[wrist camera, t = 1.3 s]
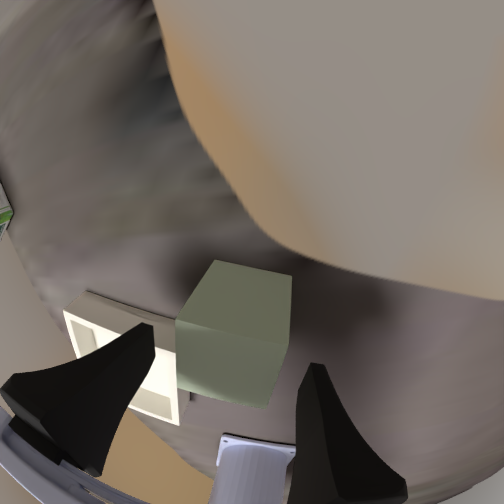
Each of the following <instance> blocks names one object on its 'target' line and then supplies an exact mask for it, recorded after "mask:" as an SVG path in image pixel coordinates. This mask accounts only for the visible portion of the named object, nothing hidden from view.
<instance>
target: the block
mask: <svg viewBox="0 0 504 504" xmlns="http://www.w3.org/2000/svg"><path fill="white" fill-rule="evenodd" d="M291 290H292V276H290V275H285V274H280V273H276V272H271V271H266V270H261V269H257V268H252V267H247V266H242V265H238V264H233V263H228V262H224V261H219V260H214V261H213V263H212V264H211V266H210V267H209V269H208V270H207V272H206V273H205V275H204V276H203V278H202V279H201V281H200V282H199V284H198V285H197V287H196V288H195V290H194V291H193V293H192V294H191V296H190V297H189V299H188V300H187V302H186V303H185V305H184V306H183V308H182V309H181V311H180V312H179V314H178V316H177V317H176V319H175V352H176V382H177V388H180V389H183V390H186V391H190V392H193V393H197V394H200V395H204V396H208V397H211V398H215V399H219V400H223V401H227V402H232V403H236V404H241V405H245V406H250V407H255V408H261V409H266V408H267V405H268V402H269V400H270V397H271V394H272V392H273V389H274V386H275V384H276V381H277V378H278V375H279V372H280V369H281V367H282V364H283V361H284V358H285V355H286V352H287V349H288V346H289V332H290V313H291Z"/></svg>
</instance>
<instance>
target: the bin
mask: <svg viewBox="0 0 504 504" xmlns="http://www.w3.org/2000/svg"><path fill="white" fill-rule="evenodd" d="M63 312H64V316H65V320H66V324H67V327H68V331H69V334H70V338H71V341H72V344H73V347H74V350H75V352H76V356H77V359H78V358H81V357H83V356H85V355H87V354H89V353H91V352H93V351H95V350H97V349H99V348H100V347H102V346H104V345H106V344H108V343H109V342H111V341H112V340H114V339H116V338H117V337H119V336H121V335H122V334H124V333H125V332H127V331H128V330H130V329H132V328H133V327H135V326H136V325H138V324H140V323H141V322H143V323H146V324H149V325H153V328H154V342H155V353H156V357H155V359H154V362H153V364H152V366H151V368H150V371H149V373H148V375H147V376H146V378H145V379H144V381H143V383H142V384H141V386H140V388H139V389H138V391H137V392H136V394H135V396H134V397H133V399H132V400H131V402H130V404H129V405H128V407H130V408H132V409H135V410H137V411H140V412H142V413H145V414H147V415H150V416H152V417H155V418H158V419H161V420H164V421H166V422H169V423H172V424H175V425H179V426H180V423H181V421H182V418H183V416H184V414H185V411H186V409H187V406H188V404H189V401H190V391H186V390H183V389H180V388H177V382H176V352H175V320H173V319H170V318H166V317H163V316H159V315H156V314H153V313H150V312H146V311H143V310H140V309H137V308H134V307H131V306H128V305H125V304H122V303H119V302H116V301H113V300H110V299H107V298H105V297H102V296H99V295H96V294H94V293H91V292H88V291H85V292H83V293H82V294H81V295H80V296H79V297H77V298H76V299H75V300H74V301H73V302H71V303H70V304H69V305H68V306H67V307H66V308H64V309H63Z"/></svg>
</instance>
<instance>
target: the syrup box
mask: <svg viewBox="0 0 504 504" xmlns="http://www.w3.org/2000/svg"><path fill="white" fill-rule="evenodd" d="M12 214H13V211H12V209H11V206H10V204H9V202H8V200H7V197H6V195H5V192H4V190H3V188H2V185H1V183H0V241H1V239H2V236H3V234H4V232H5V230H6V228H7V225H8V223H9V221H10V219H11V216H12Z"/></svg>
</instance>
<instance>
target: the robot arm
mask: <svg viewBox="0 0 504 504" xmlns="http://www.w3.org/2000/svg"><path fill="white" fill-rule="evenodd" d="M155 357H156V353H155V342H154V328H153V325H149V324H146V323H143V322H141V323H140V324H138V325H136V326H135V327H133V328H132V329H130V330H128V331H127V332H125V333H124V334H122V335H121V336H119V337H117V338H116V339H114V340H112V341H111V342H109V343H108V344H106V345H104V346H102V347H100V348H99V349H97V350H95V351H93V352H91V353H89V354H87V355H85V356H83V357H81V358H78V359H76V360H73V361H71V362H68V363H65V364H62V365H59V366H56V367H52V368H48V369H44V370H39V371H33V372H25V373H15V374H13V375H12V376H11V377H10V378H9V379H8V381H7V382H6V383H5V384H4V385H3V386H2V387H1V388H0V393H1V396H2V397H3V399H4V400H5V402H6V403H7V404H8V406H9V407H10V408H11V410H12V411H13V412H14V413H15V416H14V417H13V418H12V417H11V416H10V415H9V414H8V413H7V412H6V411H5V410H4V409H3V408H2V407H1V406H0V465H1V466H3V468H4V469H5V470H6V471H7V472H8V473H9V474H10V475H11V476H12V477H13V478H14V479H15V480H16V481H17V482H18V483H20V484H21V485H22V486H23V487H24V488H25V489H26V490H27V491H28V492H30V493H31V494H32V495H33V496H34V497H35V498H36V499H38V500H39V501H40V502H41V503H42V504H106V503H105V502H103V501H101V500H99V499H97V498H96V497H94V496H92V495H91V494H89V493H87V492H86V491H85V489H84V488H86V489H88V490H90V491H91V492H93V493H95V494H97V495H99V496H101V497H102V498H104V499H106V500H108V501H110V502H112V503H114V504H150V503H147V502H144V501H142V500H139V499H137V498H135V497H132V496H130V495H128V494H125V493H123V492H121V491H119V490H117V489H115V488H112V487H110V486H109V485H107V484H105V483H103V482H101V481H99V480H97V479H95V478H93V477H99V476H101V475H102V471H103V467H104V464H105V461H106V457H107V454H108V452H109V448H110V446H111V443H112V440H113V438H114V435H115V433H116V430H117V428H118V426H119V423H120V421H121V419H122V417H123V414H124V412H125V411H126V409H127V407H128V405H129V404H130V402H131V400H132V399H133V397H134V396H135V394H136V392H137V391H138V389H139V388H140V386H141V384H142V383H143V381H144V379H145V378H146V376H147V375H148V373H149V371H150V368H151V366H152V364H153V362H154V359H155ZM294 456H295V462H294V469H293V476H292V481H291V487H290V492H289V497H288V501H287V504H402V503H404V502H405V501H406V500H407V499H408V492H407V485H406V481H405V479H404V478H402V477H401V476H400V475H399V474H397V473H396V472H395V471H394V470H392V469H391V468H390V467H389V466H388V465H387V464H386V463H385V462H384V461H383V460H382V459H381V458H380V457H379V456H378V455H377V454H376V453H375V452H374V451H373V450H372V448H371V447H370V446H369V445H368V444H367V443H366V441H365V440H364V439H363V437H362V436H361V435H360V433H359V432H358V430H357V429H356V427H355V426H354V424H353V423H352V421H351V419H350V418H349V416H348V414H347V412H346V411H345V409H344V407H343V405H342V403H341V401H340V399H339V397H338V395H337V393H336V391H335V389H334V386H333V384H332V382H331V380H330V377H329V375H328V372H327V370H326V367H325V366H324V364H317V363H310V365H309V367H308V370H307V372H306V374H305V377H304V379H303V381H302V383H301V385H300V387H299V390H298V396H297V404H296V446H291V445H282V444H275V443H268V442H262V441H256V440H251V439H246V438H241V437H236V436H231V435H226V434H224V435H222V437H221V441H220V447H219V452H218V457H217V463H216V465H217V466H218V469H217V473H216V477H215V480H214V484H213V487H212V491H211V494H210V498H209V502H208V504H282V502H283V494H284V485H285V476H286V467H287V465H288V464H289V463H290V461H291V460H292V459H293V458H294ZM79 469H80V470H79ZM81 470H82V471H81ZM83 471H84V472H86V473H88V474H89V475H88V474H86V473H84V472H83ZM90 475H91V476H93V477H91V476H90Z"/></svg>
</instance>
